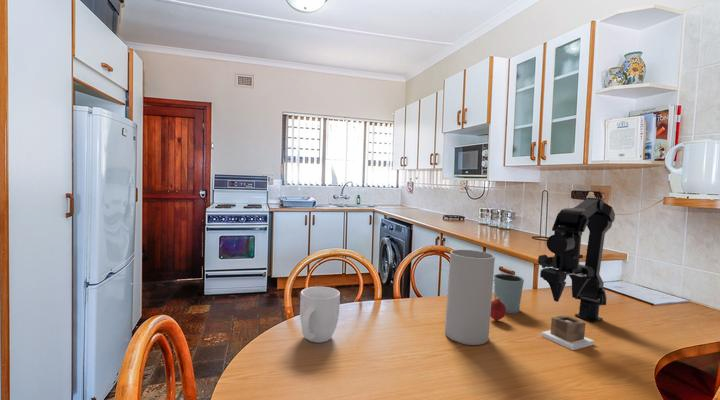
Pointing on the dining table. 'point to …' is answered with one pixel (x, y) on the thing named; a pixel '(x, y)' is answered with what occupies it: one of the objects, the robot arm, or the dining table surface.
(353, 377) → the dining table surface
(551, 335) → the post base
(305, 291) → the mug
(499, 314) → the onion
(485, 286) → the cylinder vase
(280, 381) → the dining table surface
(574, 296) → the robot arm
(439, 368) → the dining table surface
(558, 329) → the collar
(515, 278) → the grey-blue tapered cup
